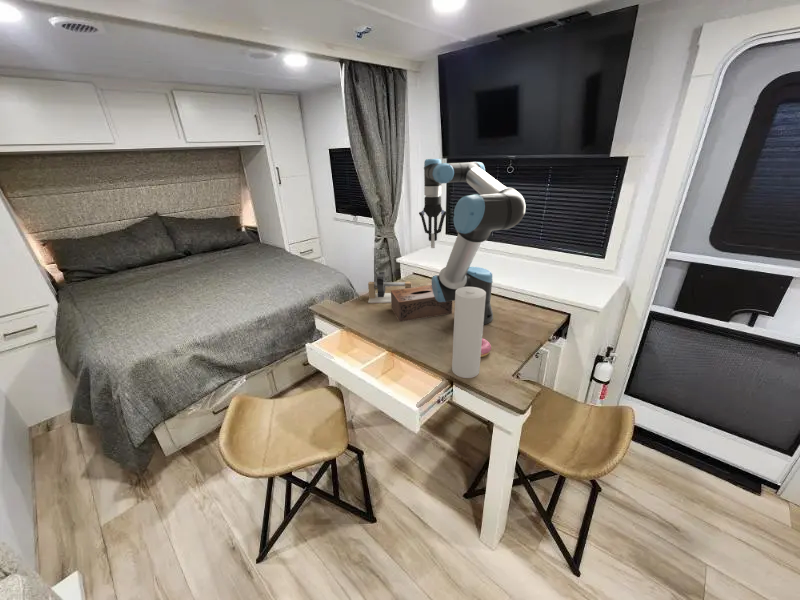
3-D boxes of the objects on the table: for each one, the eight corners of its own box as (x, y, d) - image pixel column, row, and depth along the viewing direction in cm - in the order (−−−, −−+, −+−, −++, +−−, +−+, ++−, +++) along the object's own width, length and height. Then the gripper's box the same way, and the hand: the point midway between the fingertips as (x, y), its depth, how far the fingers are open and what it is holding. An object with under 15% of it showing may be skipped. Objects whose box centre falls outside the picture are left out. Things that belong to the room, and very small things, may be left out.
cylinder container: (462, 381, 110) (468, 299, 97) (446, 366, 117) (449, 288, 105) (484, 372, 113) (492, 292, 101) (467, 359, 121) (472, 283, 109)
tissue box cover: (399, 322, 150) (398, 302, 146) (391, 309, 162) (390, 290, 158) (451, 313, 156) (452, 294, 152) (440, 301, 169) (440, 283, 164)
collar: (383, 297, 168) (382, 278, 164) (377, 297, 168) (376, 278, 164) (385, 289, 177) (384, 272, 173) (379, 289, 177) (378, 272, 173)
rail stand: (411, 302, 168) (410, 286, 164) (368, 302, 169) (367, 286, 165) (411, 294, 178) (411, 278, 174) (370, 294, 179) (369, 278, 175)
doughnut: (496, 350, 126) (497, 341, 125) (480, 362, 119) (481, 353, 117) (471, 340, 133) (472, 331, 132) (455, 351, 126) (456, 342, 124)
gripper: (446, 194, 152) (445, 245, 161) (417, 195, 152) (418, 246, 161) (448, 196, 145) (447, 248, 154) (418, 197, 145) (419, 249, 154)
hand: (432, 247), depth 157 cm, fingers closed
